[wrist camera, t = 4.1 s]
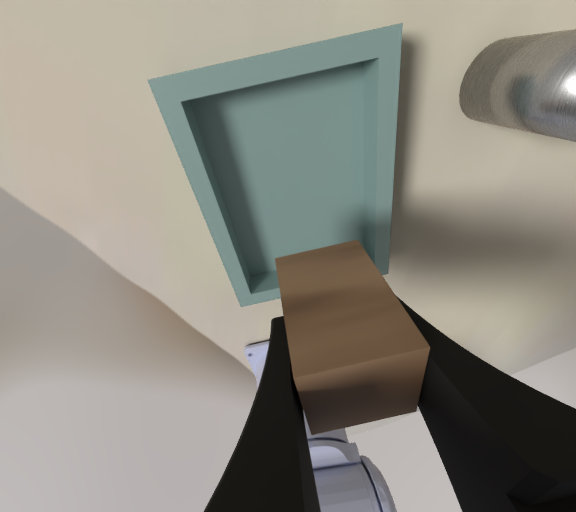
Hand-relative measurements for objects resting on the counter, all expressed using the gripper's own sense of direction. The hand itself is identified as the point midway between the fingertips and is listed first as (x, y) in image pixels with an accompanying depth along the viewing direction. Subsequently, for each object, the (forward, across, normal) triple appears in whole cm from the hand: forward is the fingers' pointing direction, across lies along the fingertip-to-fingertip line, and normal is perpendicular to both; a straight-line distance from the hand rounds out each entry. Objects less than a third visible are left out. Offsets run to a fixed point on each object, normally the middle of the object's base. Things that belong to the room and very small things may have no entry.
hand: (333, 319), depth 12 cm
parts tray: (+9, 0, -3) cm, 9 cm away
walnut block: (+2, 0, 0) cm, 2 cm away
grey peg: (+9, -12, -6) cm, 17 cm away
